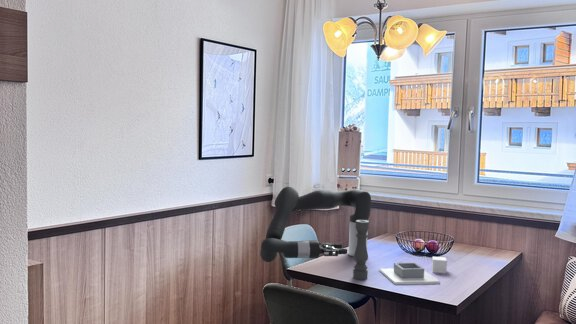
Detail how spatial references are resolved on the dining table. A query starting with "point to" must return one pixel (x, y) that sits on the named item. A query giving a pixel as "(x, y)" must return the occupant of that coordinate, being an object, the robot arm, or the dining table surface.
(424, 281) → the collar board
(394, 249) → the dining table surface
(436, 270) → the white cube
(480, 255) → the dining table surface
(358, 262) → the candle holder
